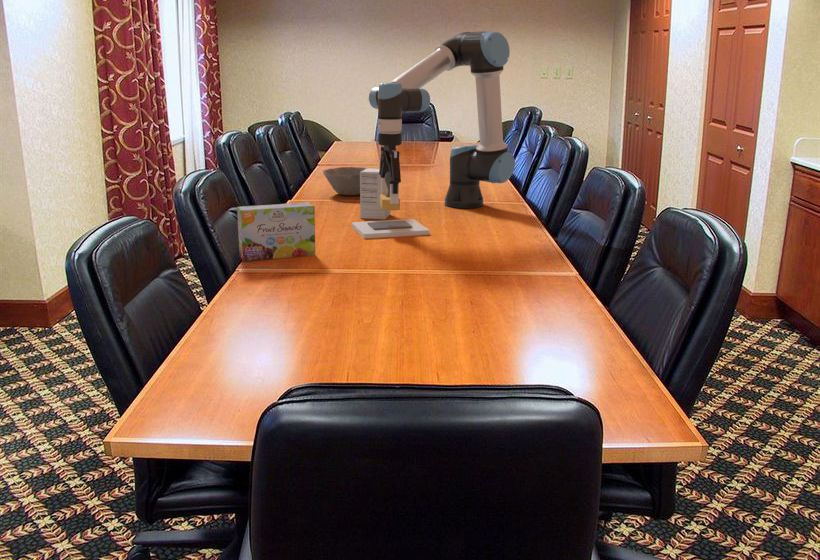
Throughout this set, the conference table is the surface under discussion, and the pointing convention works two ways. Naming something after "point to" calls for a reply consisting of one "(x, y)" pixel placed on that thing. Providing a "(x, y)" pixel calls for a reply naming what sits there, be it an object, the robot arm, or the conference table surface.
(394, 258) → the conference table surface
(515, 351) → the conference table surface
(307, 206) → the snack box
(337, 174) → the ceramic bowl
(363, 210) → the supplement box
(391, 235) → the pad
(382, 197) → the rubber stamp
